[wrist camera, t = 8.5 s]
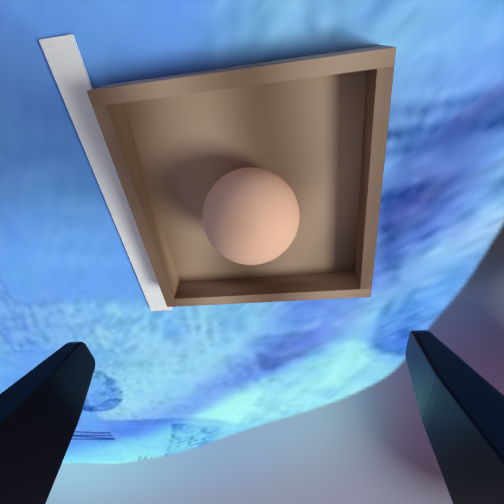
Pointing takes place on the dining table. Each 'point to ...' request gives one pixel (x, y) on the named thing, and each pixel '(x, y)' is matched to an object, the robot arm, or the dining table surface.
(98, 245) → the dining table surface
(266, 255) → the ball
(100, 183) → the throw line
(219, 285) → the tray
